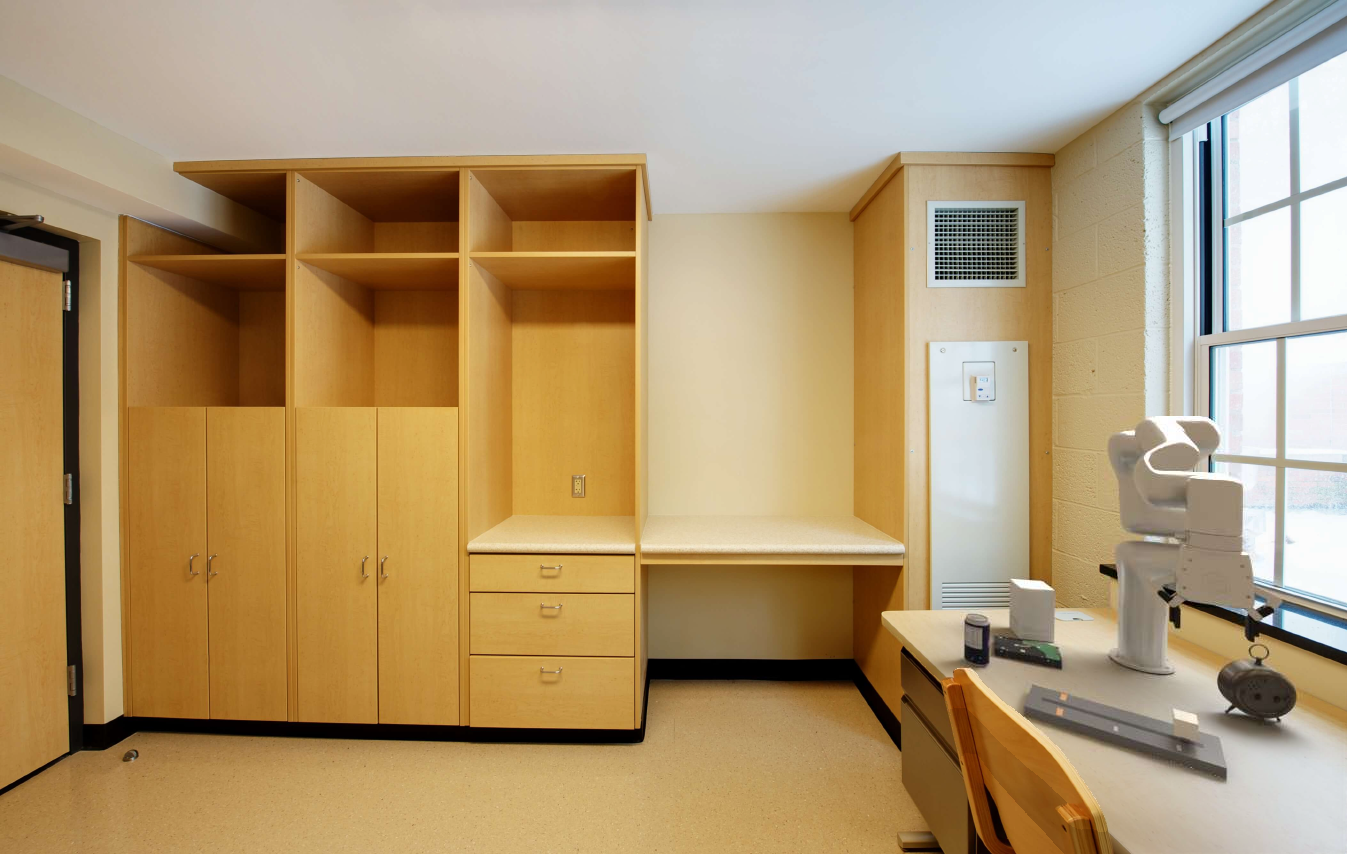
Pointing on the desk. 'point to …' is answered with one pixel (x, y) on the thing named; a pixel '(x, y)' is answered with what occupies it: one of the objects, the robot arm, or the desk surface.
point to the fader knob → (1185, 725)
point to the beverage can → (976, 640)
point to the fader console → (1126, 729)
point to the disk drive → (1027, 651)
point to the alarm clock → (1256, 688)
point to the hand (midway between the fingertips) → (1212, 633)
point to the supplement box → (1032, 610)
